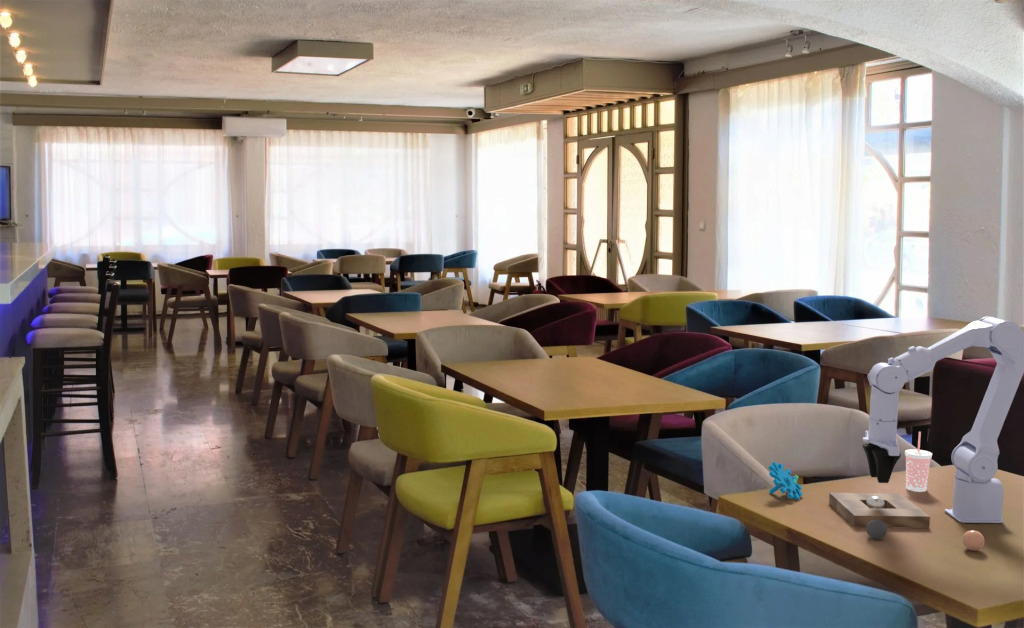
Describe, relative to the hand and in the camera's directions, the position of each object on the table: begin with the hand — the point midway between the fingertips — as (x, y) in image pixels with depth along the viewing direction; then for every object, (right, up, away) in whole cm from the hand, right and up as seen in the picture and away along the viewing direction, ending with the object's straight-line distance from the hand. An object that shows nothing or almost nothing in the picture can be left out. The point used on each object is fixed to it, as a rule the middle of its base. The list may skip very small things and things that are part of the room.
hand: (879, 479), depth 215 cm
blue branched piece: (-17, -6, +14) cm, 23 cm away
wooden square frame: (0, -8, +1) cm, 8 cm away
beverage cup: (+17, -6, +21) cm, 27 cm away
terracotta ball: (+11, -9, -20) cm, 24 cm away
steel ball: (0, -6, +2) cm, 6 cm away
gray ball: (-6, -8, -14) cm, 17 cm away
